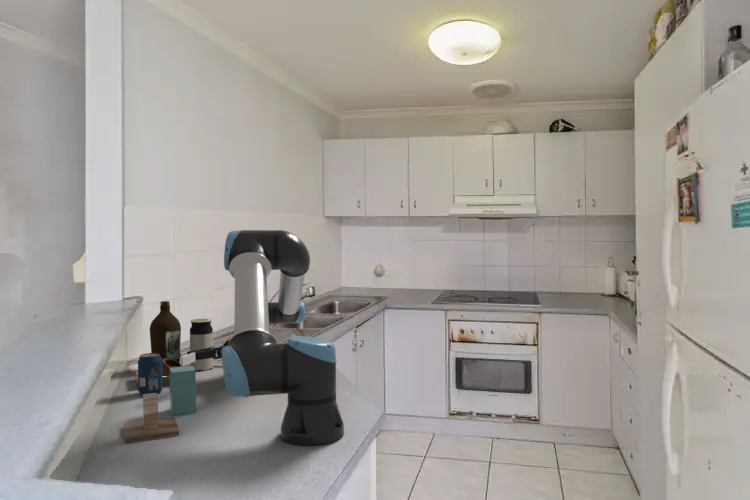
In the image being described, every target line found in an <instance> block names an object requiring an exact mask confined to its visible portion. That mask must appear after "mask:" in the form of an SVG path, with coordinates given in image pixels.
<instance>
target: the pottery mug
mask: <svg viewBox="0 0 750 500" xmlns="http://www.w3.org/2000/svg"><path fill="white" fill-rule="evenodd" d="M166 362H168V365H167V364H166ZM174 365H176V367H182V366H181V362H180V363H179V362H177V361H175V360H173V359H167V358H165V359H163V361H162V370H164V371H166V372H169V368H172V367H170V366H174ZM162 373H163V372H162Z"/></svg>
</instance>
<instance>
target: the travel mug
mask: <svg viewBox="0 0 750 500" xmlns="http://www.w3.org/2000/svg"><path fill="white" fill-rule="evenodd" d="M190 323H191V326H190V329H189V351H193V350H199V349H204V348H209V347H212V346H213V347H214V337H213V336H214V335H213V334H214V333H213V326H212V319H211V318H194V319H190ZM189 366H193V367H194V369H195V370H205V371H210V370H212V369H213V368H214V359H213V358H208V359H201V360H196V361H195V362H194V363H190V364H189ZM211 368H212V369H211ZM209 369H210V370H209Z"/></svg>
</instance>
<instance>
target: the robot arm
mask: <svg viewBox="0 0 750 500" xmlns="http://www.w3.org/2000/svg"><path fill="white" fill-rule="evenodd" d="M223 253H224V254H223V266H224V270H225V271H228V272H229V274H230V276H231V277H232V278H234V322H233V323H234V325H233V326H234V331H233V332H234V333H233V336H232V337H230V338H229V339H227V340H225V342H224V343H223V345H221V346H217V347H216V346H214V345H213V346H212V347H209V348H204V349H199V350H193V351H190V350H188V351H186V352H187V353H186V355H181V358H180V364H181V366H185V365H188V366H189V365H190V363H194V362H195V361H196V360H201V359H208V358H213V360H218V359H221V369H222V371H223V380H224V385H225V391H226V393H227V395H229V396H231V397H234V398H235V397H236V398H237V397H238V398H239V397H240V398H241V397H243V398H249V397H252V396H253V397H255V396H256V397H257V396H267V395H268V396H270V395H284V394H285V395H286V394H287V405H286V408H285V412H284V415H283V418H282V421H281V425H280V438H281V439H282V440H283V441H284V442H286V443H288V444H292V445H297V446H319V445H320V446H321V445H326V444H330V443H333V442H335V441H338V440H340V439H341V438H342V437H343V436H344V434H345V424H344V421H343V418H342V415H341V412H340V409H339V406H338V402H337V362H338V361H337V356H336V355H337V354H336V346H335V344H334V343H333V342H332V341H330V340H328V339H325V338H320V337H315V336H309V335H307V336H306V335H304V336H303V335H296V336H289V337H288V338H287V339H286V343H277V340H276V338H275V336H274V335H273V334H272V333H271V332H270V325H278V324H279V325H282V324H283V325H284V324H296V323H297V324H298V323H303V322H304V321H305V319H306V318H305V317H306V311H305V309H306V308H305V303H304V302H303V301H302V295H303V294H302V293H303V287H304V283H305V275H306V274H307V273H308V271H309V270H310V264H311V256H310V252H309V250H308V248H307V246H306V244H305V243H304V242H303V241H302V240H301V238H299V237H298V236H297V235H296V234H294V233H292V232H291V231H286V230H284V229H277V230H274V229H273V230H269V229H268V230H267V229H263V230H262V229H260V230H259V229H246V230H245V229H240V230H231V231H230V232H228V233H227V236H226V239H225V244H224V252H223ZM275 270H276V271H277V270H279V271H280V274H279V275H280V276H279V288H278V290H279V291H278V300H277V302H271V301H270V302H269V301H268V300H269V299H268V297H269V296H268V281H267V280H268V279H267V278H268V277H269V275H270V274H271V272H272V271H275Z"/></svg>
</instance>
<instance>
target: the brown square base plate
mask: <svg viewBox="0 0 750 500" xmlns="http://www.w3.org/2000/svg"><path fill="white" fill-rule="evenodd" d="M142 400H143V401H142V405H143V407H142V408H143V409H142V410H143V411H142V413H143V417H142V418H143V420H142V421H136V422H127V423H123V433H124V434H123V436H124V437H123V438H124V444H131V443H137V442H143V441H144V442H145V441H150V440H157V439H164V438H170V437H171V438H172V437H177V436H180V430H179V426H178V424H177V420H176V418H175V416H173V417H171V416H170V417H163V418H159V394H157V393H151V394H143V397H142Z"/></svg>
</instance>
